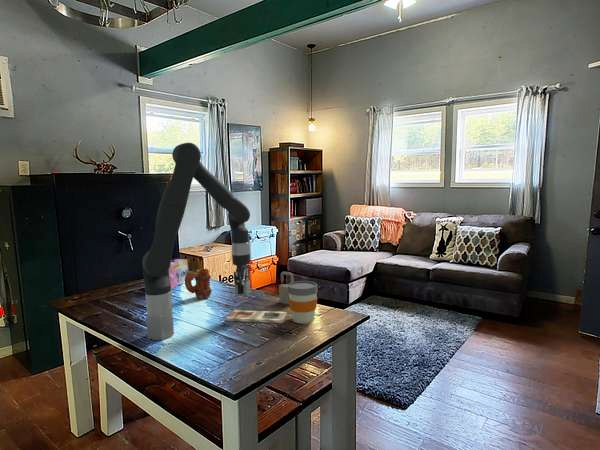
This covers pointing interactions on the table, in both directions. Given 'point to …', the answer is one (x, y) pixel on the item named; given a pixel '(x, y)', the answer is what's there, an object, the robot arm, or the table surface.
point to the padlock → (284, 288)
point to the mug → (199, 283)
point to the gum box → (178, 271)
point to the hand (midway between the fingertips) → (242, 291)
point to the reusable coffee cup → (302, 300)
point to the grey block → (245, 288)
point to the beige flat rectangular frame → (257, 316)
